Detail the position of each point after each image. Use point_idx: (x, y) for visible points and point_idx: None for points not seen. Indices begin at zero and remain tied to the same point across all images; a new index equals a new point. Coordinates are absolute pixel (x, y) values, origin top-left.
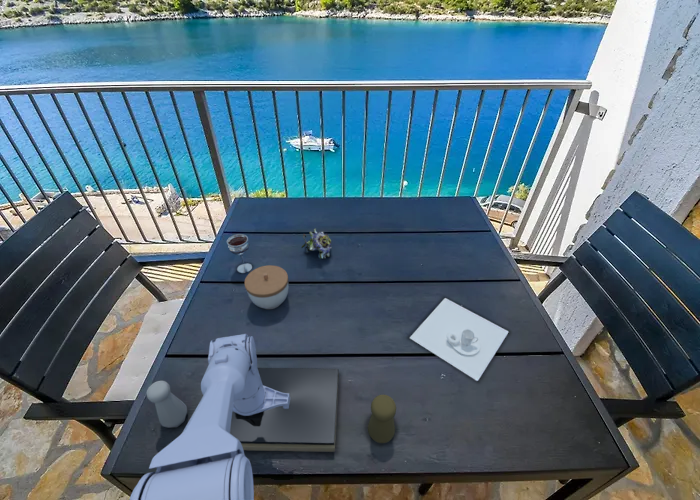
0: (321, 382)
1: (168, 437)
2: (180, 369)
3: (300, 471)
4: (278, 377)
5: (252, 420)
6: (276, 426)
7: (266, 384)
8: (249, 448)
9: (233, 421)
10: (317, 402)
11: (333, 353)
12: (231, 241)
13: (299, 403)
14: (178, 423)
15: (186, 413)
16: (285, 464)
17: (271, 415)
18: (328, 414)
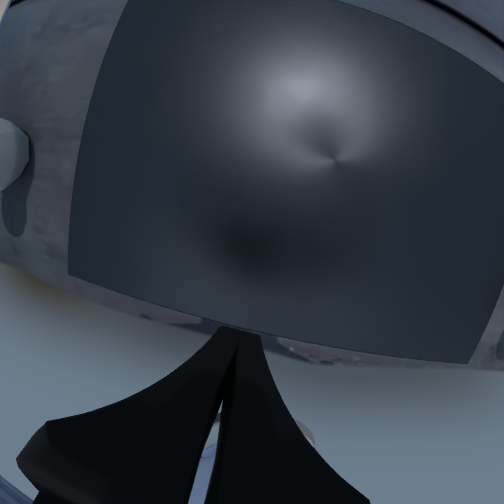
0: (496, 133)
1: (12, 200)
2: (24, 24)
3: (351, 365)
4: (331, 37)
5: (203, 448)
6: (313, 283)
7: (271, 56)
8: None
9: (128, 218)
10: (477, 215)
11: (493, 33)
12: None
13: (421, 198)
14: (8, 183)
15: (17, 152)
16: (315, 345)
17: (294, 224)
18: (491, 273)
